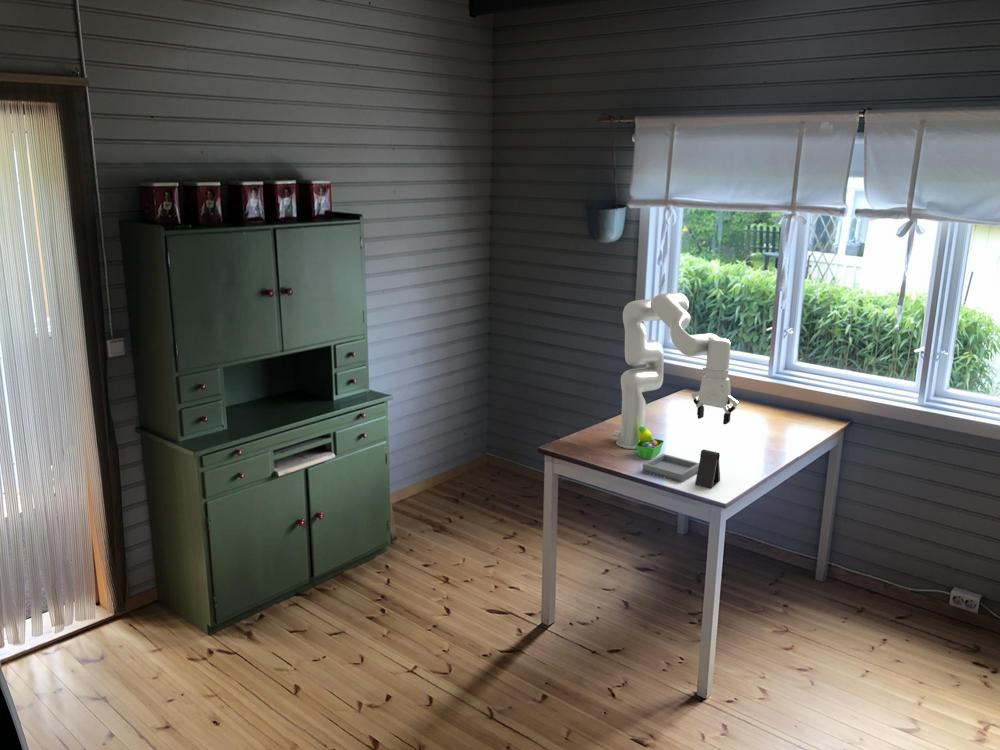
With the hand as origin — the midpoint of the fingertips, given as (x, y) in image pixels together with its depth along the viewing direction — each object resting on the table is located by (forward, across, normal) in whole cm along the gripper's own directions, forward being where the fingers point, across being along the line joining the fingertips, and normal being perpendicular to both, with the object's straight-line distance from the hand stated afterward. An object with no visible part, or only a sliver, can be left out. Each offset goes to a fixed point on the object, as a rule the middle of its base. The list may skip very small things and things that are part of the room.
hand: (713, 420), depth 281 cm
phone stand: (+24, 0, 0) cm, 24 cm away
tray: (+23, -15, +1) cm, 28 cm away
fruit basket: (+23, -31, +11) cm, 40 cm away
